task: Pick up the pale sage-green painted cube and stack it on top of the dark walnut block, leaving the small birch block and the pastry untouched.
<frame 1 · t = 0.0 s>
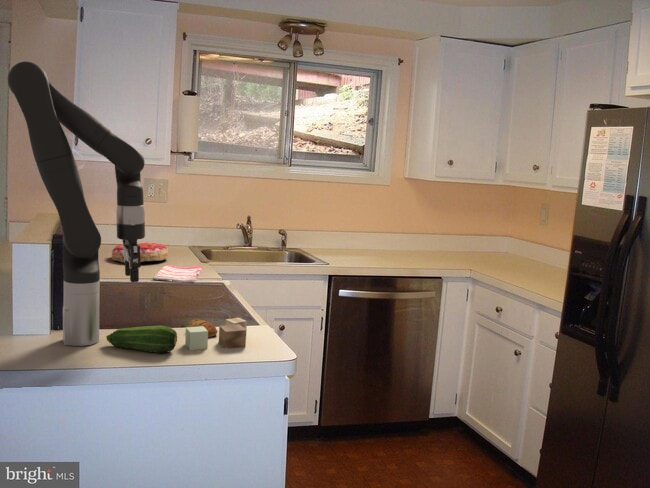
hand: (131, 278, 185), 17 cm above the countertop, fingers open, 8 cm apart
walnut block: (232, 345, 187), on the countertop
sage cube: (196, 346, 184), on the countertop
pastry: (202, 334, 197), on the countertop
vegetable: (140, 350, 178), on the countertop
dish towel: (178, 277, 275), on the countertop
birch block: (235, 334, 197), on the countertop
cake: (140, 261, 304), on the countertop
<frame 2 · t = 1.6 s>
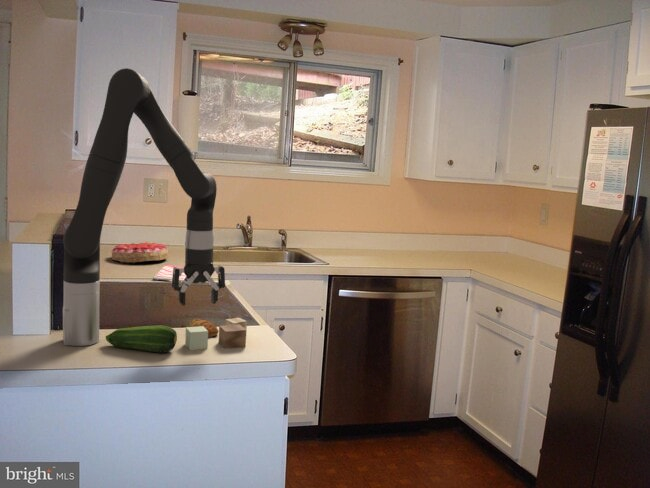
hand: (198, 304, 182), 12 cm above the countertop, fingers open, 8 cm apart
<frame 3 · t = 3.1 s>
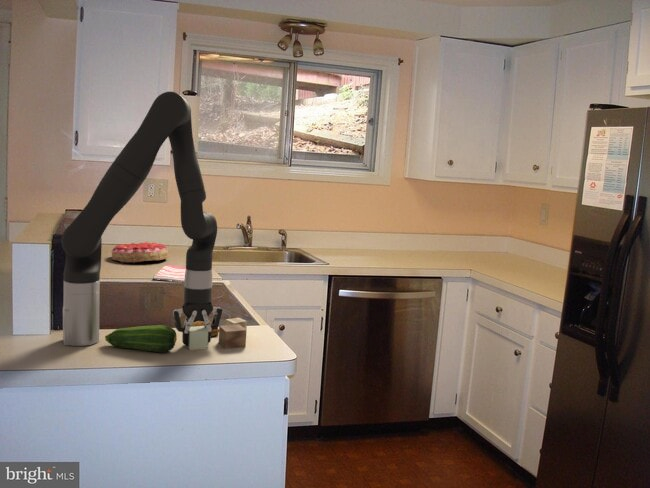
hand: (196, 344, 184), 0 cm above the countertop, fingers closed on sage cube, 5 cm apart
sage cube: (196, 346, 184), on the countertop, touching gripper
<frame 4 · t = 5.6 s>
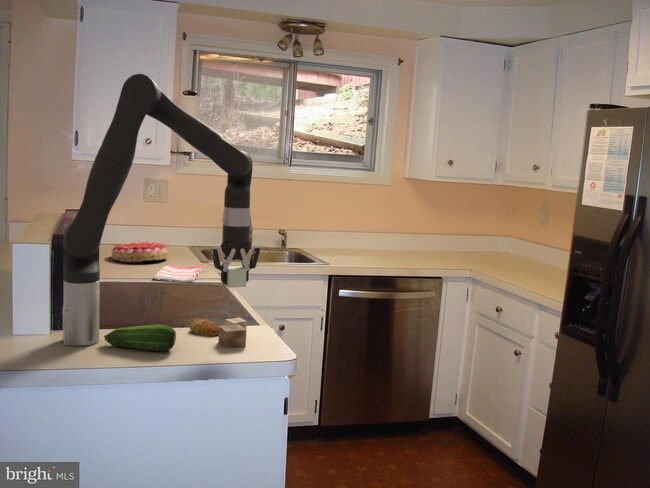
hand: (234, 283, 185), 18 cm above the countertop, fingers closed on sage cube, 5 cm apart
sage cube: (234, 285, 185), point 17 cm above the countertop, touching gripper
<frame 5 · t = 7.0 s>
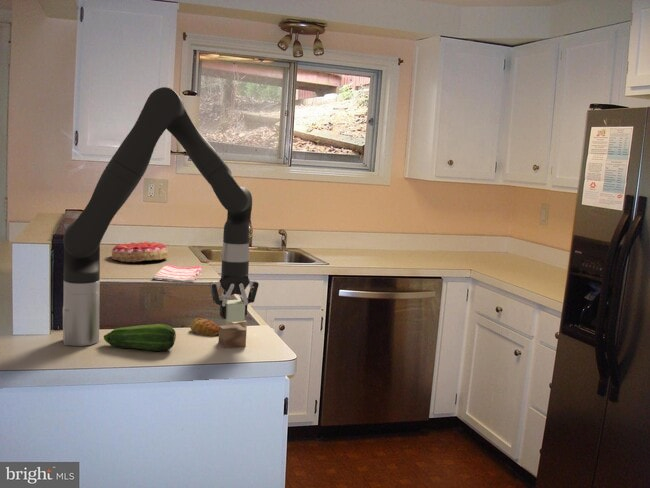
hand: (233, 317, 186), 8 cm above the countertop, fingers closed on sage cube, 5 cm apart
sage cube: (233, 319, 186), point 7 cm above the countertop, touching gripper
when the fingers open (6 cm above the countertop, at t = 8.1 s): sage cube moves 1 cm, resting on walnut block.
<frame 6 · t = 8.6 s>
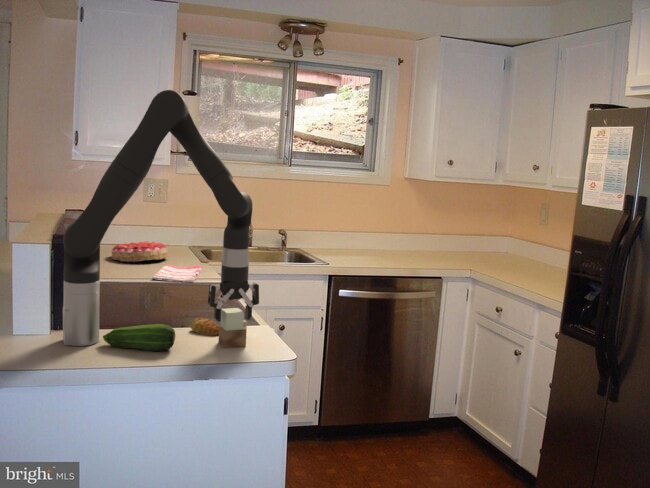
hand: (233, 320, 186), 7 cm above the countertop, fingers open, 8 cm apart
walnut block: (232, 345, 187), on the countertop, touching sage cube
sage cube: (231, 327, 187), point 5 cm above the countertop, touching walnut block
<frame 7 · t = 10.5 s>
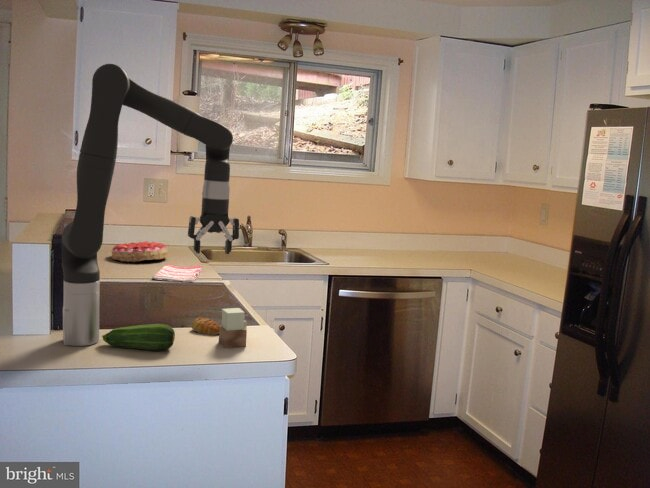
hand: (212, 253, 189), 25 cm above the countertop, fingers open, 8 cm apart
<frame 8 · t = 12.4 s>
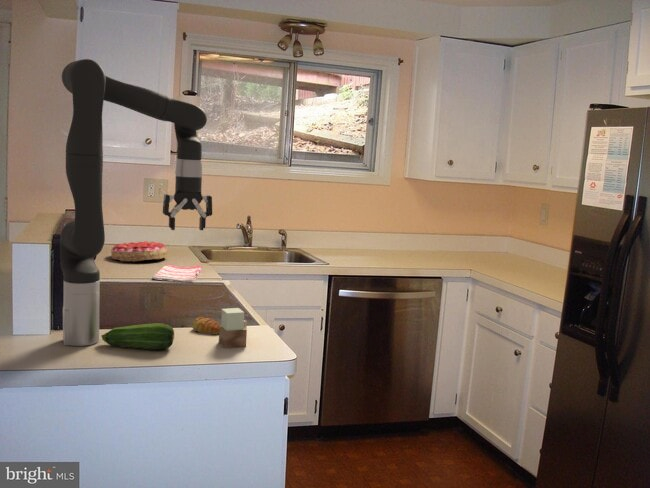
hand: (187, 229, 196), 30 cm above the countertop, fingers open, 8 cm apart
walnut block: (232, 344, 187), on the countertop
sage cube: (232, 327, 187), point 5 cm above the countertop
at the end: sage cube 0.2 cm off-centre on the walnut block, point 5.0 cm above the walnut block's base; sage cube tilted 0°; the gripper is holding nothing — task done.
